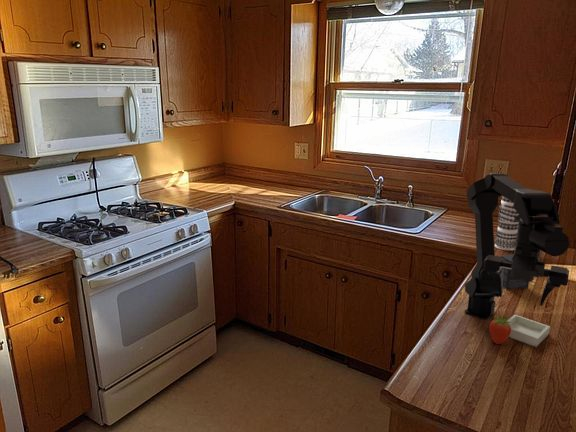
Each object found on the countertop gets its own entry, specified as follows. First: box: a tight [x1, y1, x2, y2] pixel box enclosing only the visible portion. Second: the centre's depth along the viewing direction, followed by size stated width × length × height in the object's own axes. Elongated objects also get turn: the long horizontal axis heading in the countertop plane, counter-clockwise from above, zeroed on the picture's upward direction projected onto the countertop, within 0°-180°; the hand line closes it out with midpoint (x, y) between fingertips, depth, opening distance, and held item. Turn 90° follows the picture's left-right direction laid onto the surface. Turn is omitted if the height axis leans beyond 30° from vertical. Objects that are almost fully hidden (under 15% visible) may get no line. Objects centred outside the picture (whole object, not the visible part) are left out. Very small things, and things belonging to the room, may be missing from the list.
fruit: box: [488, 314, 511, 345], centre depth 119 cm, size 5×5×8 cm
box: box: [501, 254, 530, 290], centre depth 155 cm, size 8×6×11 cm
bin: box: [506, 314, 551, 348], centre depth 125 cm, size 9×9×2 cm
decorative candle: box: [494, 195, 519, 251], centre depth 191 cm, size 9×9×25 cm
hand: (520, 300), depth 115 cm, fingers open, 9 cm apart
